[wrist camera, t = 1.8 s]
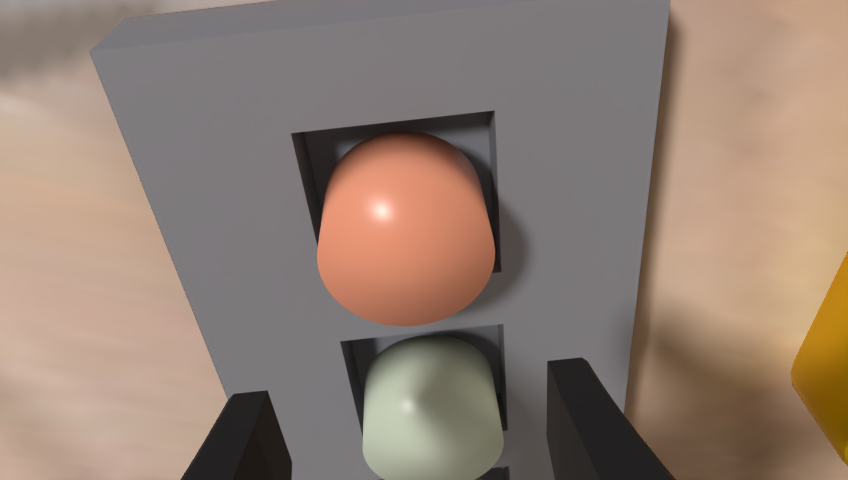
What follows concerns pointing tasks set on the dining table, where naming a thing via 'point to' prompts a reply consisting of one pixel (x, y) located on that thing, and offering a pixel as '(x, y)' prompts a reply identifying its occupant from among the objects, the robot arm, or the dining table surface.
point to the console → (381, 113)
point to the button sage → (431, 411)
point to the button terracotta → (405, 230)
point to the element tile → (827, 365)
